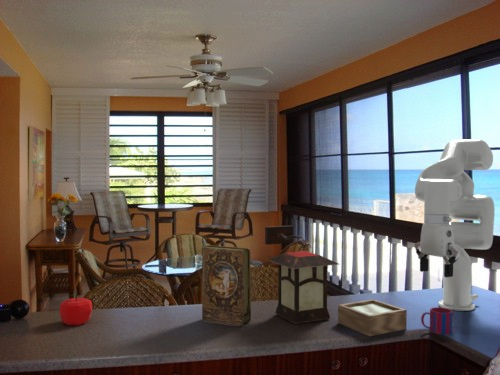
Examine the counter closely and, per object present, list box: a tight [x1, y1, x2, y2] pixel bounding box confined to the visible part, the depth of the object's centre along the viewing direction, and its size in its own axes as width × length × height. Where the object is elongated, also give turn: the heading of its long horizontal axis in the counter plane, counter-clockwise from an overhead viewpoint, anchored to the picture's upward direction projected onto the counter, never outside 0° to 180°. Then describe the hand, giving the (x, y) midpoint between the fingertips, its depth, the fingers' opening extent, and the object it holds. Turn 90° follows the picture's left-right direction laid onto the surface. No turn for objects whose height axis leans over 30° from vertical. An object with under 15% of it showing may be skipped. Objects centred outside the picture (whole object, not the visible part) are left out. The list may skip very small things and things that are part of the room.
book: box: [201, 245, 252, 327], centre depth 173 cm, size 16×6×25 cm, turn 65°
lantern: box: [264, 225, 340, 325], centre depth 181 cm, size 18×26×30 cm
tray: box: [337, 299, 408, 337], centre depth 168 cm, size 15×15×6 cm
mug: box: [420, 306, 454, 336], centre depth 163 cm, size 7×10×7 cm
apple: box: [59, 292, 93, 326], centre depth 172 cm, size 11×11×10 cm
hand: (436, 273), depth 162 cm, fingers open, 9 cm apart
